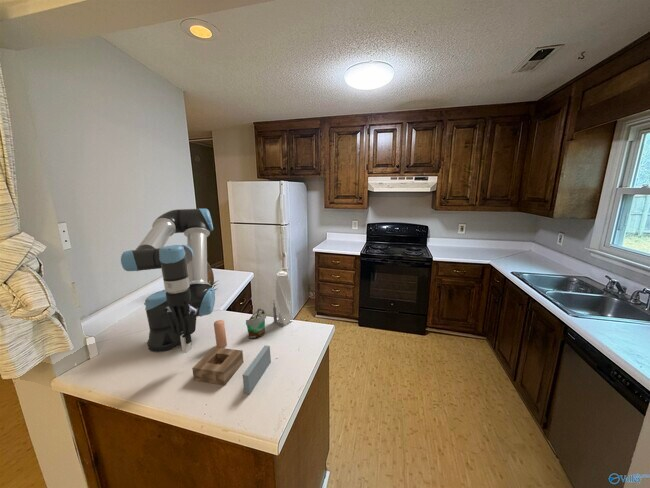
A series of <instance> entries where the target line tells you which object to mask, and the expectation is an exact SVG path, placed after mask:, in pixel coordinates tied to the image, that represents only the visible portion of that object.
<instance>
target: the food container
mask: <svg viewBox="0 0 650 488" xmlns="http://www.w3.org/2000/svg"><path fill="white" fill-rule="evenodd" d="M266 319H267V314H266V312H265V310H264V309H261V308H257V310H256V312H254V313H253V314H252V315H251V316H250V317H249V319H246V320H245V326H246V329H247V335H248V339H249V340H257V339H260V338H262V337H264V335H265V333H266Z"/></svg>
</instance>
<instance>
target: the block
mask: <svg viewBox="0 0 650 488" xmlns="http://www.w3.org/2000/svg"><path fill="white" fill-rule="evenodd" d="M243 354H244V353H243V350H241V349H240V350H239V349H233V348H226V347H225V348H217V346H216V347H212V349H210V350H209V352H208V353H206V354H205V355H204V356H203V357H202V358H201V359H200V360H199V361H198V362H197V363H196V364H195V365H193V367H191V368H192V375H193V380H194V381H197V382H202V383H208V384H214V385H221V386H222V385H223V386H226V385H227V384H228V382H229V381H230V380H231V379H232V377H233V376H234V375H235V373H237V371H238V370H239V369H240V367H241V366H242V365H243V364H244V355H243Z"/></svg>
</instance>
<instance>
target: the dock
mask: <svg viewBox="0 0 650 488" xmlns="http://www.w3.org/2000/svg"><path fill="white" fill-rule="evenodd" d="M271 356H272V355H271V346H270V345H263V347H262V348H261V350H259V352H258V354H256V356H255V358H254V359H253V361H252V362H251V363H250V365H248V367H247V368H246V370H245V371H244V372H243V374H242V383H243V384H242V385H243V391H244V392H243V393H244V395H245V394H246V395H251V394H252V392H253V391H254V390H255V387H256V386H257V385H258V383H259V381H260V380H261V378H262V377H263V375H264V374H265V372H266V371H267V369H268V367H270V364H271V363H272V357H271Z"/></svg>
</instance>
